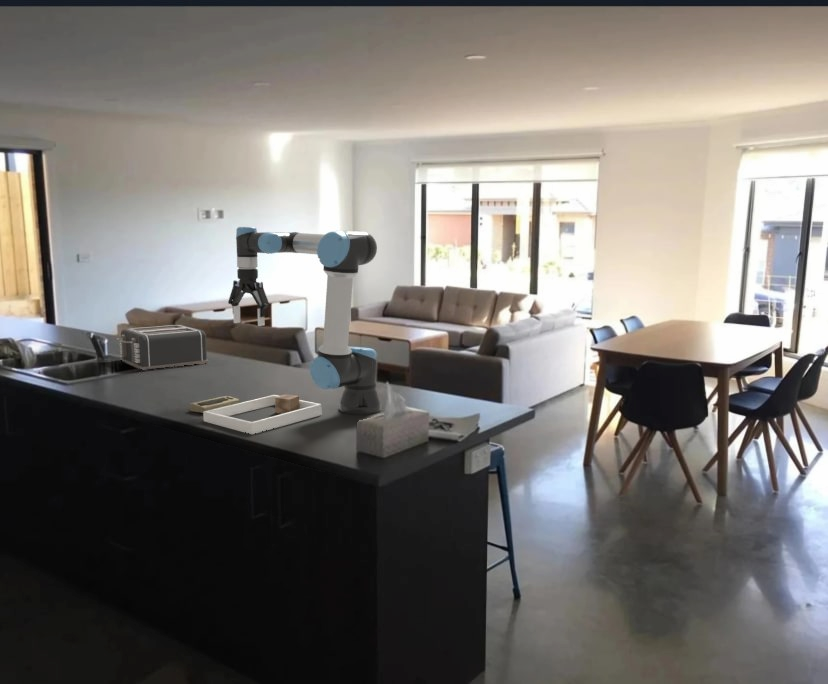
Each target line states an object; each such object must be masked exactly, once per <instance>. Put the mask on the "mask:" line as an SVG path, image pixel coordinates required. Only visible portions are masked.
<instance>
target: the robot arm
mask: <svg viewBox="0 0 828 684" xmlns="http://www.w3.org/2000/svg"><path fill="white" fill-rule="evenodd" d="M235 240H236V242H235V243H236V267H237V268H238V269H237V271H236V272H237V273H236V275H237V280H233V283H232V289H231V291H230V294H229V299H228V303H227V304H230V305H231V306H232V315H233V323H234V324H239V323H241V306H240V303H241V301H242V299H243V297H244V296H245V294H250V296H252V298H253V300H254V301H255V302H256V303H255V304H256V305H257V306H258V307H257V326H258V327H263V326H265V324H266V321H265V317H266V308H269V307H270V303H269V299H268V297H267V294H266V292H265V289H264V283H263V281H257V279H258V278H259V273H258V272H259V269H258V266H259V265H258V254H259V253H260V254H266V255H267V254H268V255H269V254H271V255H272V254H276V253H277V254H278V253H290V254H291V253H293V254H294V253H295V254H304V255H305V254H306V255H307V254H308V255H317V258H318V259H319V262H320V264H321V265H322V266H323V272H324V273H325V275H326V276H327V279H326V293H325V295H326V296H325V309H324V321H323V324H324V325H323V337H322V339H323V340H322V344H321V345H320V346H319V347H318V349H317V356H316V357H314V358H313V360H311V362H310V363H309V373H310V377H311V379H312V381H313V382H314V384H315V385H316V386H317V387H318V388H319V389H322V390H326V391H327V390H336V389H339V388H343V391H342V392H343V393H342V395H341V399H340V402H339V411H340V412H342V413H344V414H348V415H371V414H377V413H379V412H381V411H382V402H381V401H380V398H379V393H378V391H377V361H378V360H377V351H376V350H375V349H373V348H369V347H362V346H349V335H350V324H351V323H350V322H351V308H352V307H351V306H352V297H353V283H354V282H353V281H354V277H356V275H357V274H359V266H364V265H367V264H369V263H370V262H372V261H373V260H374V258H375V257H376V254H377V251H378V245H377V242H376V240H375V237H373V235H372V234H370V233H368V232H367V231H363V230H362V231H361V230H334V231H333V230H332V231H330V232H327V233H324V234H322V233H308V232H306V233H304V232H297V231H293V232H274V231H273V232H271V231H266V232H261V231H260V232H258V231H257V227H255V226H238V227H237V228H236V236H235Z"/></svg>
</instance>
